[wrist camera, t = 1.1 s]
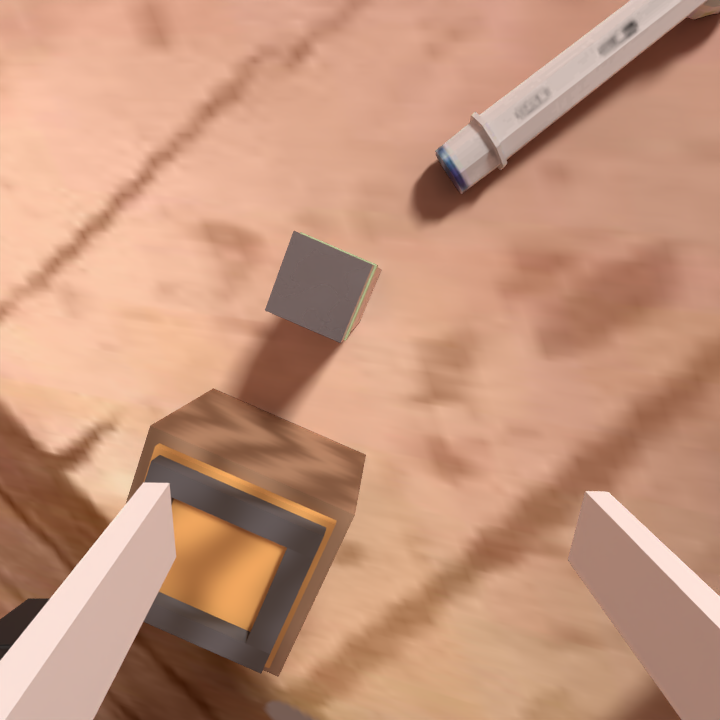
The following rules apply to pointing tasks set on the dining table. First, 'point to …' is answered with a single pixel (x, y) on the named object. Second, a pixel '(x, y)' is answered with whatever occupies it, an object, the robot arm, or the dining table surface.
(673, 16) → the white plastic rod
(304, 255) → the steel column
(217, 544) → the walnut stand
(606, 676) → the dining table surface
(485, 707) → the dining table surface
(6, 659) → the robot arm
